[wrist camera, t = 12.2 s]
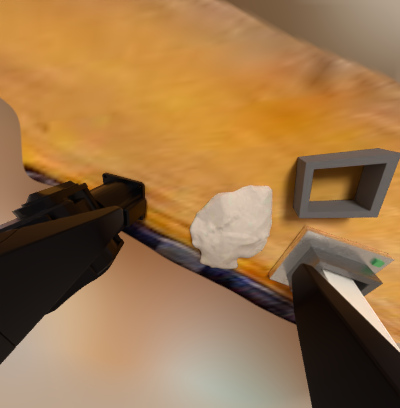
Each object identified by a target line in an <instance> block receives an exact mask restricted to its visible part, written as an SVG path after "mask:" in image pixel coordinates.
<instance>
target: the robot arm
mask: <svg viewBox="0 0 400 408" xmlns="http://www.w3.org/2000/svg"><path fill="white" fill-rule="evenodd" d="M102 176H103V183H104V184H102V185H100V186H98V187H96V188H94V189H92V190H90V191H89V189H88V188H87V187H88V186H87V185H86V183H83V184H80V185H78V183H77V184H75V183H73V182H72V181H68V182H65V183H62V184H60V185H57V186H54V187H51V188H48V189H45V190H42V191H39V192H36V193H33V194H30V195H29V197H28V199H27V202H26V203H25V204H23V205H22V208H19V209H17V210H14V211H12V212H13V213H14V214H15V215H16V217H17V218H16V219H14V220H11V221H9V222H7V223H4V224H2V225H0V364H1V363H2V362H3V361H4V360H5V359H6V358H7V356H8V355H9V354H10V353H11V352H12V351H13V350H14V349H15V347H16V346H17V345H18V344H19V343H20V342H21V341H22V340H23V339H24V337H25V336H26V335H27V334H28V333H29V332H30V331H31V330H32V329H33V328H34V326H35V325H36V324H37V323H38V322H39V321H40V320H41V319H42V318H43V316H44V315H46V314H48V313H50V312H52V311H54V310H56V309H57V308H58V307H59V306H60V305H61V304H63V303H64V302H65V301H66V300H67V299H68V298H70V297H71V296H72V295H73V294H74V293H76V292H77V291H78V290H80V289H81V288H82V287H84V286H85V285H87V284H88V283H90V282H92V281H94V280H95V279H97V278H98V277H100V276H101V275H102V274H103V273H105V272H106V271H107V270H108V269H109V267H110V266H111V264H112V263H113V261H114V259H115V258H116V256H117V254H118V252H119V251H120V249H121V247H122V246H123V244H124V241H123V240H122V239H121V238H120V237H119V235H118V233H120V232H121V231H122V230H123V229H124V228H125V227H126V226H127V227H129V226H131V225H132V224H133V223H134V222H135V221H136V220H137V219H139V220H143V219H144V217H145V197H144V184H143V183H142V182H139V181H135V180H131V179H128V178H124V177H120V176H117V175H113V174H109V173H104V174H103V175H102ZM106 176H107V177H106ZM140 185H141V187H140ZM291 281H292V293H293V305H294V314H295V320H296V325H297V330H298V335H299V341H300V346H301V351H302V356H303V362H304V366H305V372H306V377H307V383H308V388H309V393H310V398H311V404H312V408H400V352H399V351H398V350H397V349H396V348H395V347H394V346H393V345H392V344H391V343H390V342H389V341H388V340H387V339H386V338H385V337H384V336H383V335H382V334H381V333H380V332H379V331H378V330H377V329H376V328H375V327H374V326H373V325H372V324H371V323H370V322H369V321H368V320H367V319H366V318H365V317H364V316H363V315H362V314H360V313H359V312H358V311H357V310H356V309H355V308H354V307H353V306H352V305H351V304H350V303H349V302H348V301H347V300H346V299H345V298H344V297H343V296H342V295H341V294H340V293H339V292H338V291H337V290H336V289H335V288H334V287H333V286H332V285H331V284H330V283H329V282H328V281H327V280H326V279H325V278H324V277H323V276H322V275H321V274H320V273H319V272H318V271H317V270H316V269H315V268H314V267H313V266H311V265H308V264H305V263H300V264H299V266H298V267H297V268H296V270H295V271H294V272H293V274H292V277H291Z"/></svg>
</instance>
